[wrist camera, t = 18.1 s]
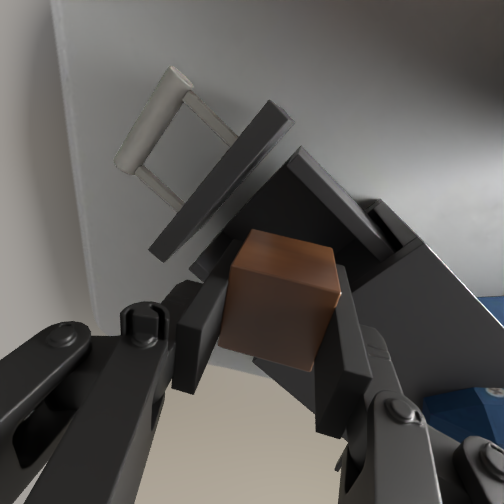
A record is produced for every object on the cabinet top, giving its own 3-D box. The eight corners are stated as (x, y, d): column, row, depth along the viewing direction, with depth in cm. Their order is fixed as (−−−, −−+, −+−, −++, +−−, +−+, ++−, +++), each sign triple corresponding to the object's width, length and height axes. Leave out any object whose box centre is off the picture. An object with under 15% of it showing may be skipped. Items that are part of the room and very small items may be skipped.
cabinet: (269, 288, 25) (251, 361, 17) (379, 198, 20) (424, 242, 12) (355, 367, 27) (375, 465, 19) (476, 301, 22) (568, 396, 14)
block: (238, 295, 15) (216, 346, 12) (251, 227, 13) (230, 264, 10) (310, 313, 15) (310, 373, 11) (333, 247, 13) (342, 293, 9)
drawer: (143, 173, 22) (78, 191, 15) (226, 49, 17) (182, 7, 11) (283, 300, 24) (274, 359, 18) (387, 219, 20) (423, 261, 13)
